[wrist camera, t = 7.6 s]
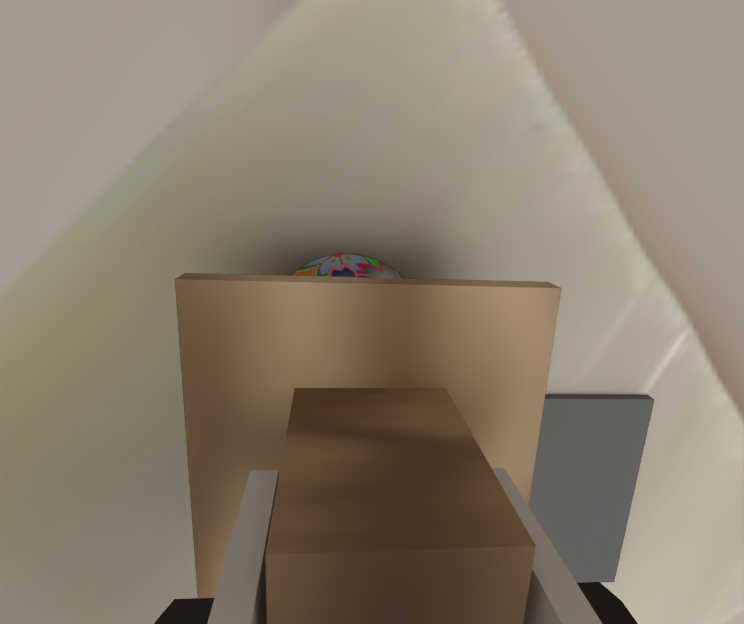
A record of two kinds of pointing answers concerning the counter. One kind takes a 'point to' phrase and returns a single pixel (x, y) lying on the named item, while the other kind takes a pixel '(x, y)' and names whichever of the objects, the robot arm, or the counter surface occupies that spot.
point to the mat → (588, 477)
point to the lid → (368, 438)
